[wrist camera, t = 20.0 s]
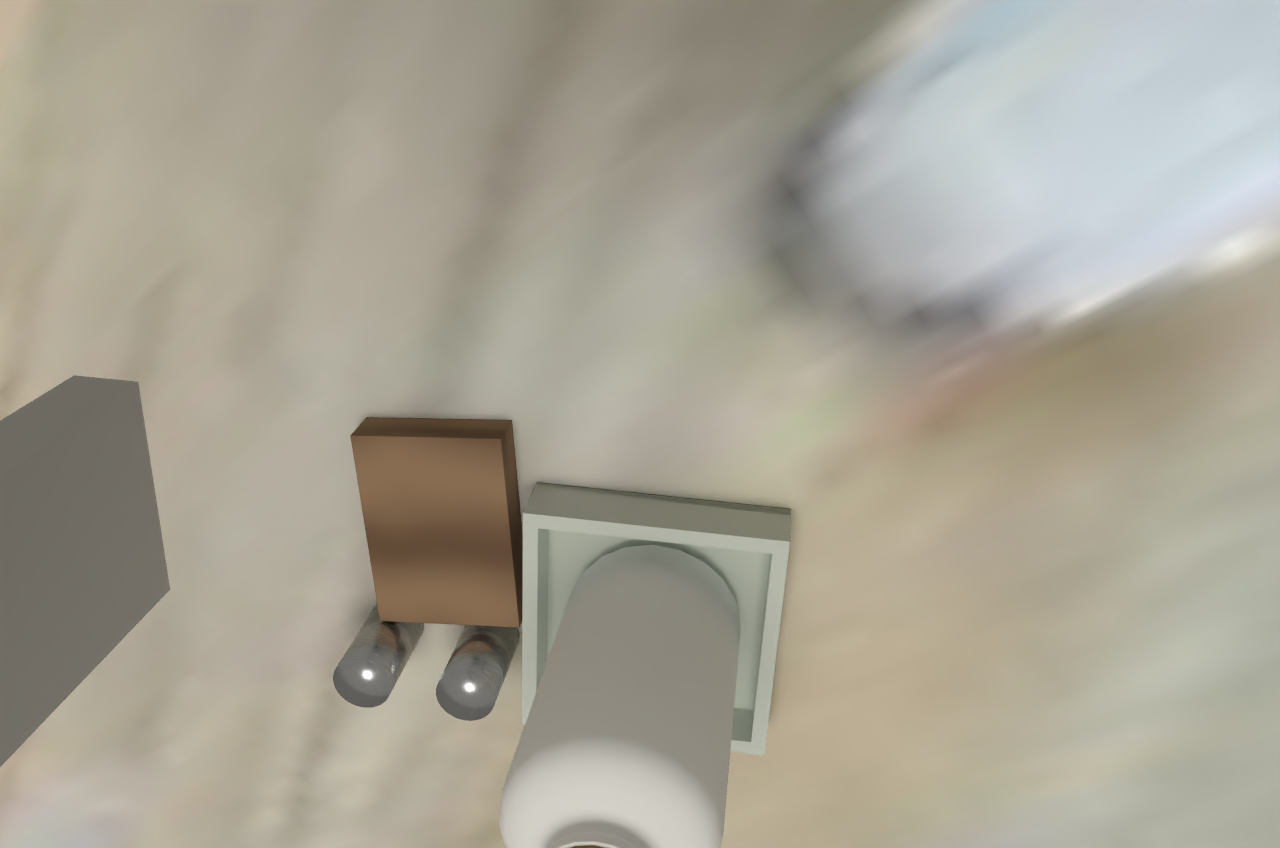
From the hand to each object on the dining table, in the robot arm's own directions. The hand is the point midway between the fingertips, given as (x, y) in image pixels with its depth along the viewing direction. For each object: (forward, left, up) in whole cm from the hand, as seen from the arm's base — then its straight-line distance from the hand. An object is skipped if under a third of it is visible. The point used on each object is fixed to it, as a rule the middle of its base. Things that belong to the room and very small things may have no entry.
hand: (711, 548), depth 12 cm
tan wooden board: (+20, -14, -35) cm, 43 cm away
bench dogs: (+27, -14, -35) cm, 46 cm away
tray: (+24, -4, -35) cm, 42 cm away
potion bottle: (+24, -3, -34) cm, 42 cm away
